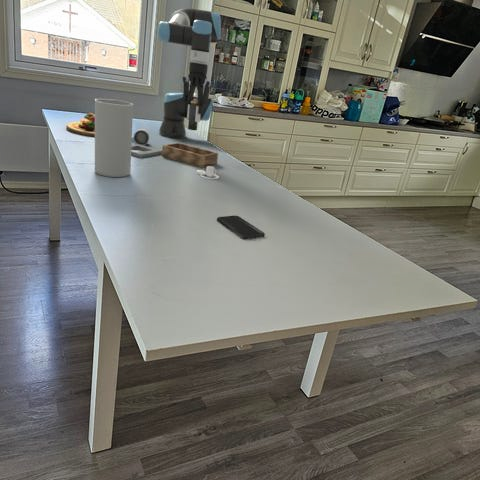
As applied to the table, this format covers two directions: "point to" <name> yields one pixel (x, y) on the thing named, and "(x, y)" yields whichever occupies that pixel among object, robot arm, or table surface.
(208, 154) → the walnut trough
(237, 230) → the phone
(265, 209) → the table surface
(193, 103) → the battery cell
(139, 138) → the ceramic mug
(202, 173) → the teacup and saucer
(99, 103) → the cylinder vase
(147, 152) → the grey flat square frame
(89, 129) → the wooden plate with food
